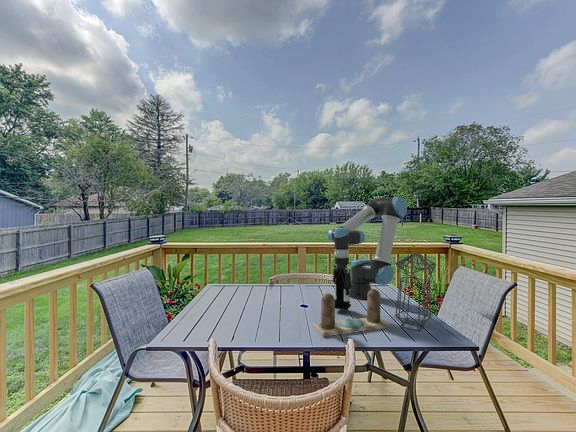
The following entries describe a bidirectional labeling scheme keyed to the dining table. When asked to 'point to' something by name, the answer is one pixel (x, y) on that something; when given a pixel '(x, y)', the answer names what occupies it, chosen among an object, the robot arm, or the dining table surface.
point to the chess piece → (340, 292)
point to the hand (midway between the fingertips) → (341, 298)
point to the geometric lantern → (419, 288)
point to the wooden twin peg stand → (349, 325)
